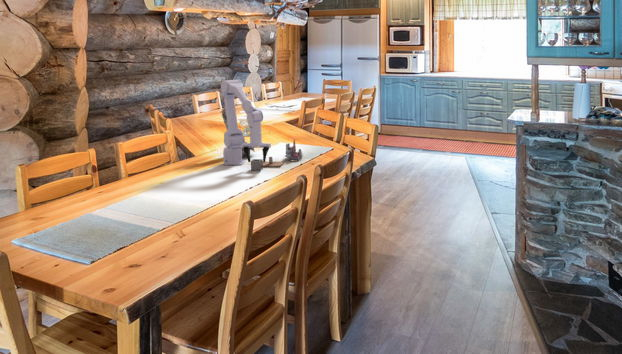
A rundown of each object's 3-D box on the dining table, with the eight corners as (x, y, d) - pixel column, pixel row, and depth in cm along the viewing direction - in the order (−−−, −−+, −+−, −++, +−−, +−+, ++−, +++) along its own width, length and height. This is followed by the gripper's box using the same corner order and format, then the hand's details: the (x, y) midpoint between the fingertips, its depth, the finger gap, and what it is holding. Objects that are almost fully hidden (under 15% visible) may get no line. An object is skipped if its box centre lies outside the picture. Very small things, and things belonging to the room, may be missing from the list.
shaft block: (257, 167, 292) (257, 158, 291) (261, 163, 302) (261, 155, 301) (280, 167, 291) (280, 158, 290) (283, 163, 300) (283, 155, 299)
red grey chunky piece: (306, 157, 304) (292, 139, 302) (290, 169, 306) (276, 152, 304) (307, 153, 315) (293, 136, 314) (292, 165, 317) (278, 148, 315)
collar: (251, 171, 284) (250, 161, 283) (253, 168, 289) (252, 159, 288) (260, 171, 284) (260, 161, 282) (262, 168, 288) (262, 159, 287)
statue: (224, 163, 313) (208, 110, 312) (230, 162, 332) (215, 112, 330) (253, 154, 312) (237, 102, 311) (257, 154, 331) (242, 104, 329)
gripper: (239, 136, 279) (240, 163, 282) (268, 136, 277) (269, 163, 280) (242, 134, 286) (244, 160, 289) (271, 134, 284) (272, 160, 287)
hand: (256, 161), depth 285 cm, fingers open, 7 cm apart
